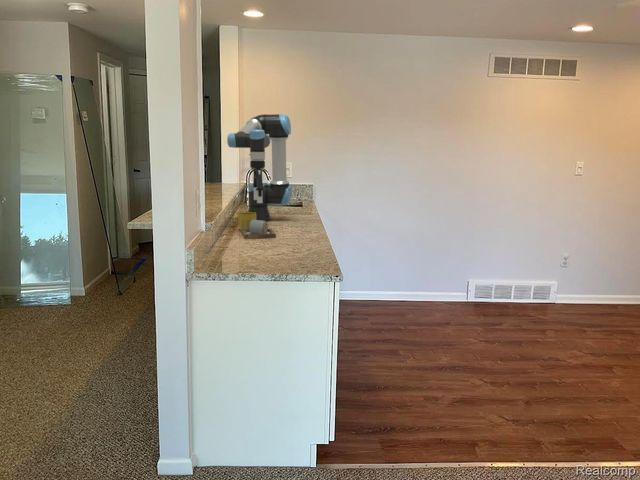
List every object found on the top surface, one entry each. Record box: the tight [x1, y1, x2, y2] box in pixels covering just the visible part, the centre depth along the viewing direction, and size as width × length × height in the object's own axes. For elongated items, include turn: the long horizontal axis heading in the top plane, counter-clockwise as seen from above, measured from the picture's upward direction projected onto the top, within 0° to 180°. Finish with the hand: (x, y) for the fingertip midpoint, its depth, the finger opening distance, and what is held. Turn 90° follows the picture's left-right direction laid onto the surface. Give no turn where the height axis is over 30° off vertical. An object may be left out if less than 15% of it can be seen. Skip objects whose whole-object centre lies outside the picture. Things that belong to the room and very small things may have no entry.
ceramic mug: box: [249, 219, 269, 234], centre depth 274 cm, size 11×8×8 cm
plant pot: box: [237, 211, 256, 232], centre depth 289 cm, size 10×10×10 cm
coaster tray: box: [241, 228, 277, 240], centre depth 274 cm, size 16×16×2 cm
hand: (258, 201), depth 271 cm, fingers open, 13 cm apart
